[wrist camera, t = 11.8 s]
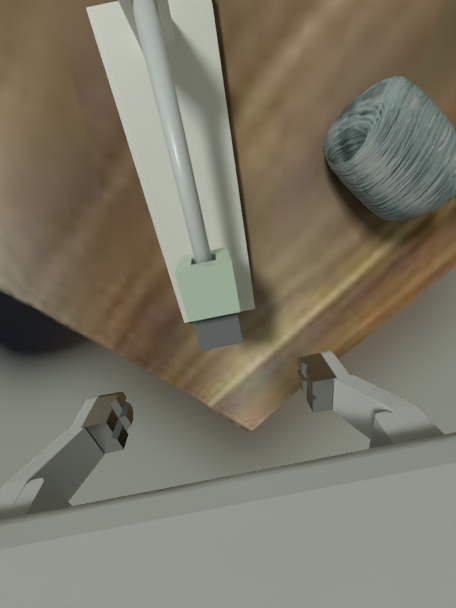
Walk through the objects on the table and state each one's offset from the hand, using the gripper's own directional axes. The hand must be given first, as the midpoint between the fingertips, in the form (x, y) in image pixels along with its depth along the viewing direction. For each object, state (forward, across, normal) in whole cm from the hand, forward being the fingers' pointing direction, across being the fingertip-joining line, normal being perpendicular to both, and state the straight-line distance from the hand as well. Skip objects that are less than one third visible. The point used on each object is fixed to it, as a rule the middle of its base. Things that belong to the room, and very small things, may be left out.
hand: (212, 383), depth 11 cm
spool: (+21, -20, -7) cm, 30 cm away
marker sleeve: (+17, 0, 0) cm, 17 cm away
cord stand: (+21, 0, -7) cm, 22 cm away
